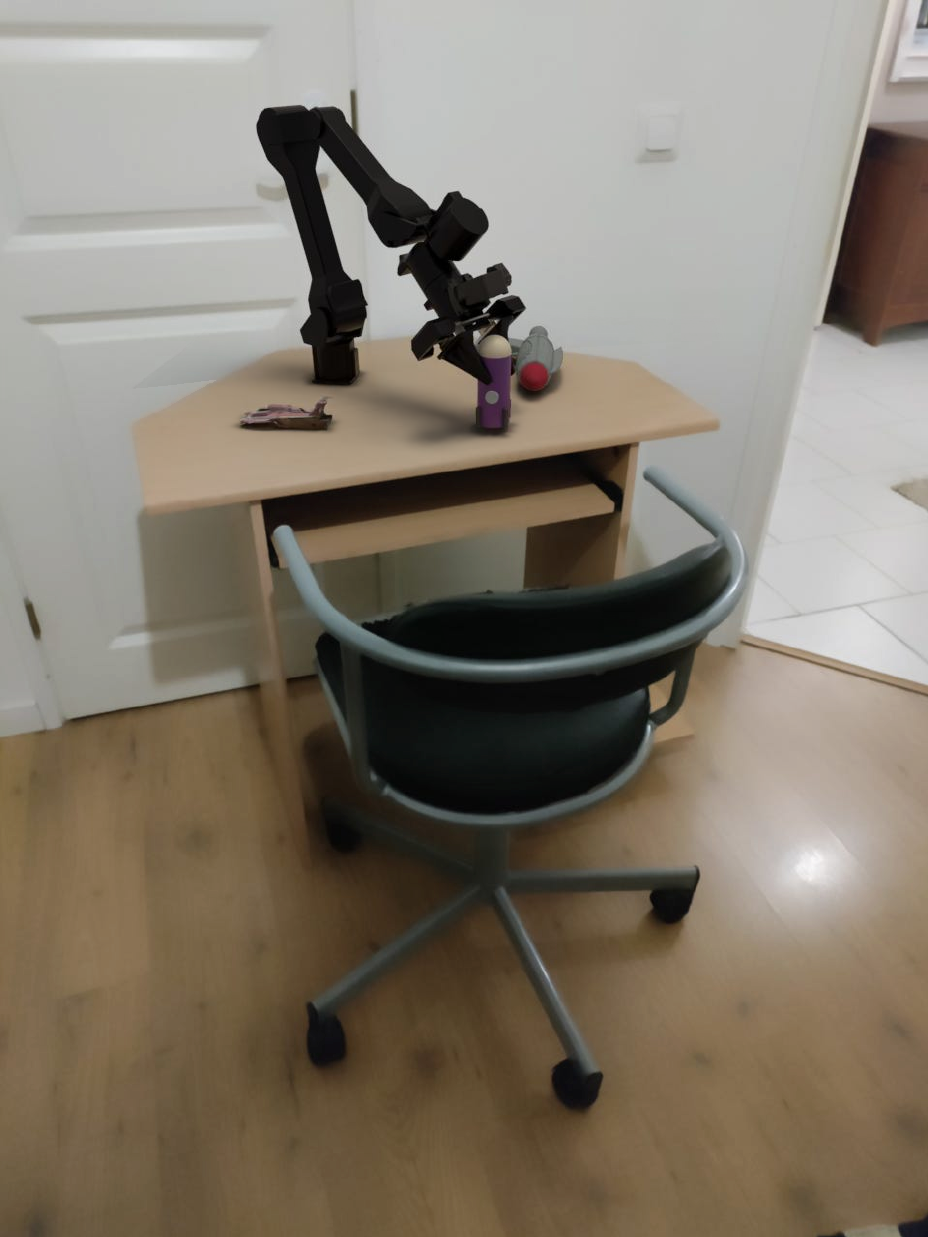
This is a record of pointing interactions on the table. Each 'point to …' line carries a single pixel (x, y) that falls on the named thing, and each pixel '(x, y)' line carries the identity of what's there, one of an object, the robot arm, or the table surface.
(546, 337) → the toy ray gun
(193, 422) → the table surface
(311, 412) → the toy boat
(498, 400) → the toy rocket
